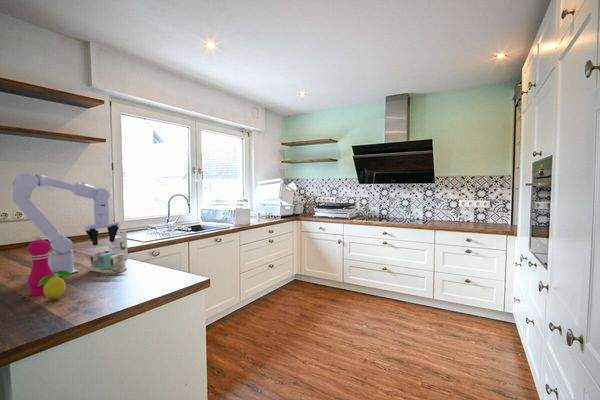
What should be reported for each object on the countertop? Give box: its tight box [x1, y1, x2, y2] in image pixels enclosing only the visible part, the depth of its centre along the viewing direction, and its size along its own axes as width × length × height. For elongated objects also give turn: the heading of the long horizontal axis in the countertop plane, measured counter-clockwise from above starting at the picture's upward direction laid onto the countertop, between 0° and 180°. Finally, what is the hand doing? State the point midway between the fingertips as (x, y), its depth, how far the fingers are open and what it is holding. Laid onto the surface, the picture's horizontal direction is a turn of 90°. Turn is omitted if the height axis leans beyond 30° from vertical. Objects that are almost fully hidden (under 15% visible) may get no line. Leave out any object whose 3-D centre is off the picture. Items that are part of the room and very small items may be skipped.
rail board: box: [89, 250, 128, 275], centre depth 125 cm, size 6×15×7 cm, turn 68°
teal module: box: [98, 251, 115, 269], centre depth 124 cm, size 5×4×6 cm
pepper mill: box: [26, 235, 55, 296], centre depth 100 cm, size 7×7×20 cm
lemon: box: [38, 269, 73, 300], centre depth 93 cm, size 7×6×10 cm
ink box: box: [107, 229, 129, 260], centre depth 144 cm, size 9×5×15 cm, turn 62°
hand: (103, 243), depth 132 cm, fingers open, 7 cm apart
